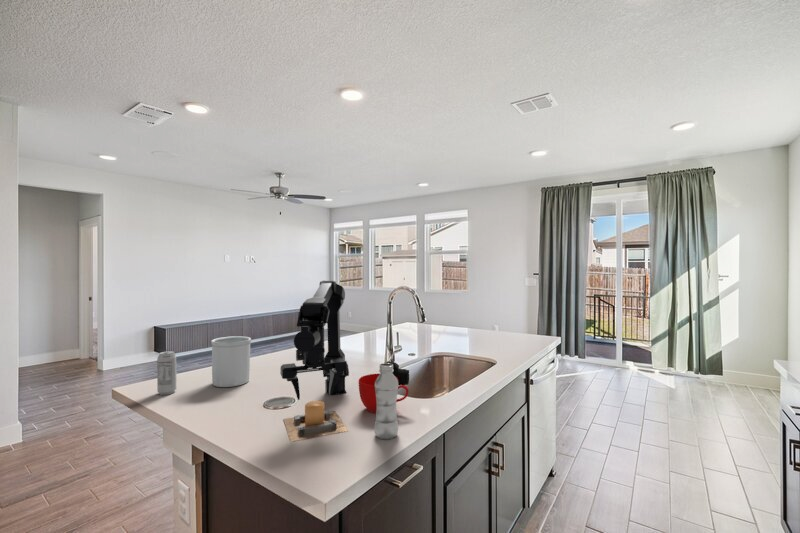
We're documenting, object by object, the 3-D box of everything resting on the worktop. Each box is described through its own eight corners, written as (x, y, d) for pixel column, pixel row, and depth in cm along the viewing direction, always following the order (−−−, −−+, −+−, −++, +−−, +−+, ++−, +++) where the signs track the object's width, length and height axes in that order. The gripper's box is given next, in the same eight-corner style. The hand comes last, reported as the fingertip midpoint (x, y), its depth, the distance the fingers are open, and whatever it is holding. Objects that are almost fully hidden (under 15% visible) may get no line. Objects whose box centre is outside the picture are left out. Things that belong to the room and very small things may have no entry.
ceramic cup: (401, 422, 113) (401, 389, 113) (351, 414, 119) (351, 383, 118) (414, 406, 125) (414, 376, 125) (368, 400, 131) (368, 371, 131)
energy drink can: (180, 390, 142) (179, 350, 142) (168, 395, 136) (168, 354, 136) (165, 389, 143) (165, 350, 143) (153, 395, 137) (153, 354, 137)
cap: (322, 419, 113) (322, 399, 113) (326, 426, 108) (326, 406, 108) (303, 422, 111) (303, 402, 111) (306, 430, 106) (306, 409, 106)
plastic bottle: (373, 432, 106) (373, 362, 106) (397, 431, 106) (397, 361, 106) (374, 443, 99) (374, 368, 99) (399, 442, 100) (399, 367, 100)
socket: (335, 412, 120) (335, 406, 120) (348, 432, 106) (348, 425, 106) (283, 420, 114) (283, 414, 114) (290, 443, 99) (290, 436, 99)
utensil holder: (238, 374, 162) (238, 334, 162) (258, 380, 153) (258, 338, 153) (204, 383, 150) (204, 339, 150) (223, 390, 141) (223, 344, 141)
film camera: (404, 392, 139) (404, 368, 139) (379, 391, 141) (379, 367, 141) (411, 380, 154) (411, 358, 154) (388, 378, 156) (388, 357, 156)
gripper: (338, 336, 121) (338, 385, 121) (278, 341, 113) (278, 393, 113) (348, 343, 110) (348, 396, 110) (282, 349, 103) (282, 405, 103)
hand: (314, 397), depth 110 cm, fingers open, 9 cm apart
